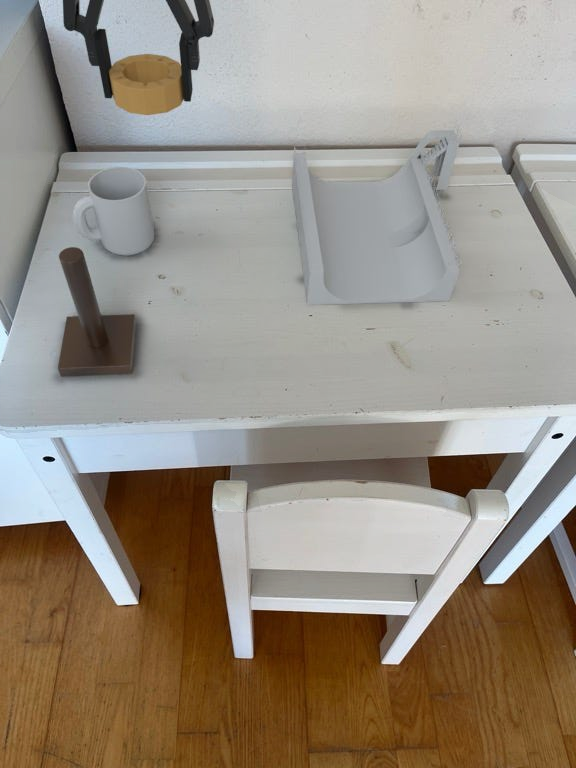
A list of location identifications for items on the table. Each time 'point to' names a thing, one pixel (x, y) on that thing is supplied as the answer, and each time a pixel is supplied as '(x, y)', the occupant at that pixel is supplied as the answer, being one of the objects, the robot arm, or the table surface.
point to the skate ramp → (378, 232)
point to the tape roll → (147, 84)
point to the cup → (117, 211)
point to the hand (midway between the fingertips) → (149, 93)
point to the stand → (92, 328)
